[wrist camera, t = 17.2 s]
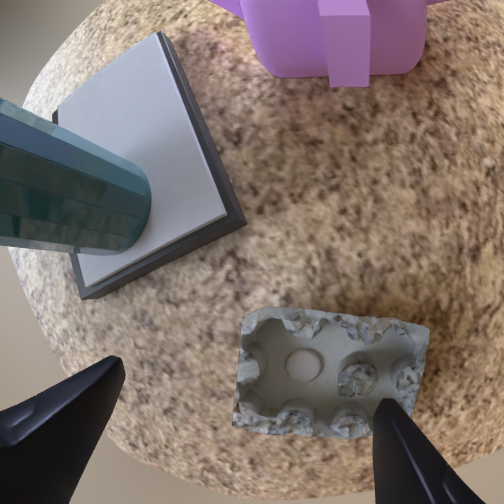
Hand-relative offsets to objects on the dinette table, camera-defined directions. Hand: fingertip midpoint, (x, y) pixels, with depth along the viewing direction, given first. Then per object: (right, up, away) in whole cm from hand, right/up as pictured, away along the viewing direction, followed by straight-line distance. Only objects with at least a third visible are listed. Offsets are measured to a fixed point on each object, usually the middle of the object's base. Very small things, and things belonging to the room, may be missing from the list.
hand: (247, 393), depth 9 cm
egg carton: (+5, -2, +9) cm, 11 cm away
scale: (-10, +12, +14) cm, 21 cm away
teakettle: (+6, +24, +11) cm, 27 cm away
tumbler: (-10, +8, +11) cm, 17 cm away
